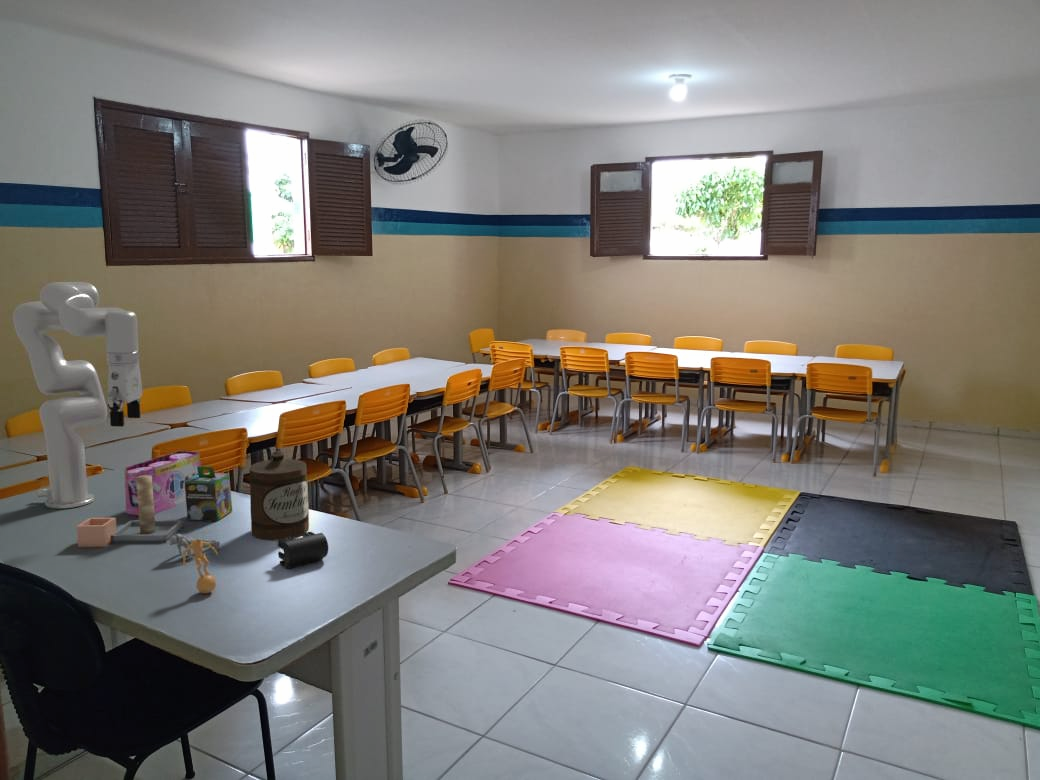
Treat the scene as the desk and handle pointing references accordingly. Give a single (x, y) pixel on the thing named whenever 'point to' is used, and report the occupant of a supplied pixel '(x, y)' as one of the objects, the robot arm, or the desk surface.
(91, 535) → the pink open box
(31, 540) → the desk surface
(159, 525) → the tray
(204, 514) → the chalk box
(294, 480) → the wooden container
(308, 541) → the end cap
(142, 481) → the dowel
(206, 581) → the figurine
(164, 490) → the gum box
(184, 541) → the soldier figurine
